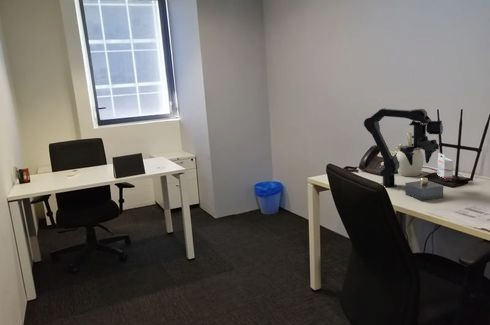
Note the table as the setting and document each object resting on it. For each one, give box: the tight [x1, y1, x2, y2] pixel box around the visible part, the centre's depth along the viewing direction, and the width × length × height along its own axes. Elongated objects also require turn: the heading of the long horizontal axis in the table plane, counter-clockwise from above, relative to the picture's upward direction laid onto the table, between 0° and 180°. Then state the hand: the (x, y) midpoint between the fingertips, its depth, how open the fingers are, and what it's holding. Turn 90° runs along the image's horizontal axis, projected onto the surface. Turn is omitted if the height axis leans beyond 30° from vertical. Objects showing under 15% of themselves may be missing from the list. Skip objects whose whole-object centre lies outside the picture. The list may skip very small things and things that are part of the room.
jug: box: [395, 132, 425, 177], centre depth 231 cm, size 15×16×25 cm
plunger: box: [419, 177, 429, 185], centre depth 190 cm, size 9×9×8 cm
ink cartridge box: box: [436, 152, 454, 179], centre depth 214 cm, size 9×5×15 cm, turn 178°
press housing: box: [404, 180, 444, 202], centre depth 190 cm, size 12×12×6 cm
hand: (419, 164), depth 201 cm, fingers open, 9 cm apart
